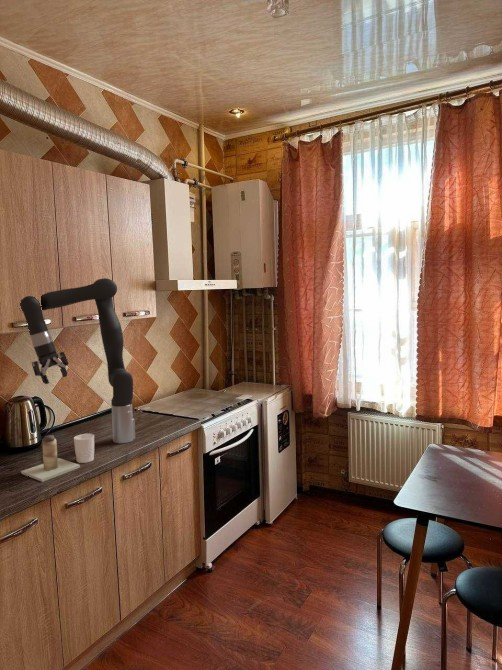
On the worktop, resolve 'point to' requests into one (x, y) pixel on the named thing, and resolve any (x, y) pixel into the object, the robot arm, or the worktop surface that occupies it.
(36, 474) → the board
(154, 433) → the worktop surface
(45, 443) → the pepper mill
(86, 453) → the white cup
